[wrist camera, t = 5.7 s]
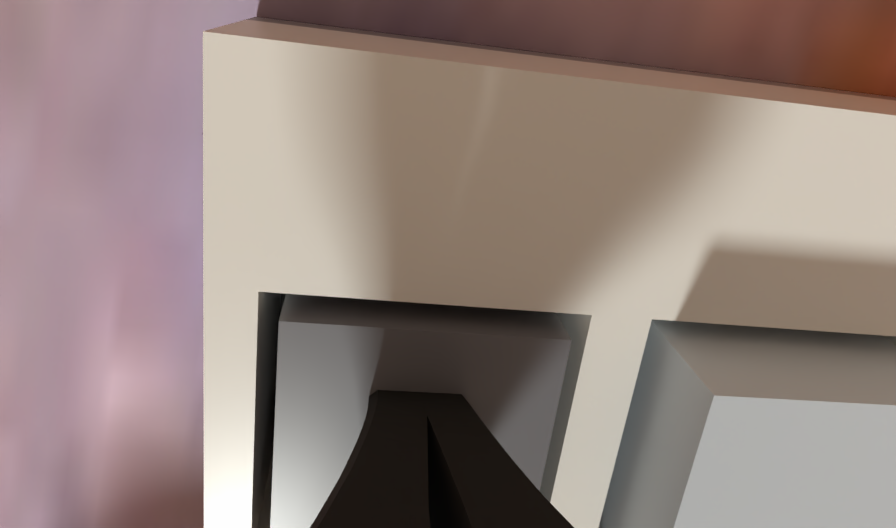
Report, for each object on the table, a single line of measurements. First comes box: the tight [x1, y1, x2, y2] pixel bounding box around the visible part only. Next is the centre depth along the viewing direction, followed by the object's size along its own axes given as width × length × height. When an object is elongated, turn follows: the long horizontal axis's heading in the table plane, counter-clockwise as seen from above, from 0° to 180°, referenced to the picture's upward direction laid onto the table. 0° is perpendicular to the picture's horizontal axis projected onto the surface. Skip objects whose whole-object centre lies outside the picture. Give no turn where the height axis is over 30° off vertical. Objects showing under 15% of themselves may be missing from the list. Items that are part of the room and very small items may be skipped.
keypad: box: [203, 17, 896, 528], centre depth 13 cm, size 17×11×4 cm, turn 83°
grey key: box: [599, 319, 896, 528], centre depth 11 cm, size 4×4×3 cm
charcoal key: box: [270, 294, 572, 528], centre depth 12 cm, size 4×4×3 cm
